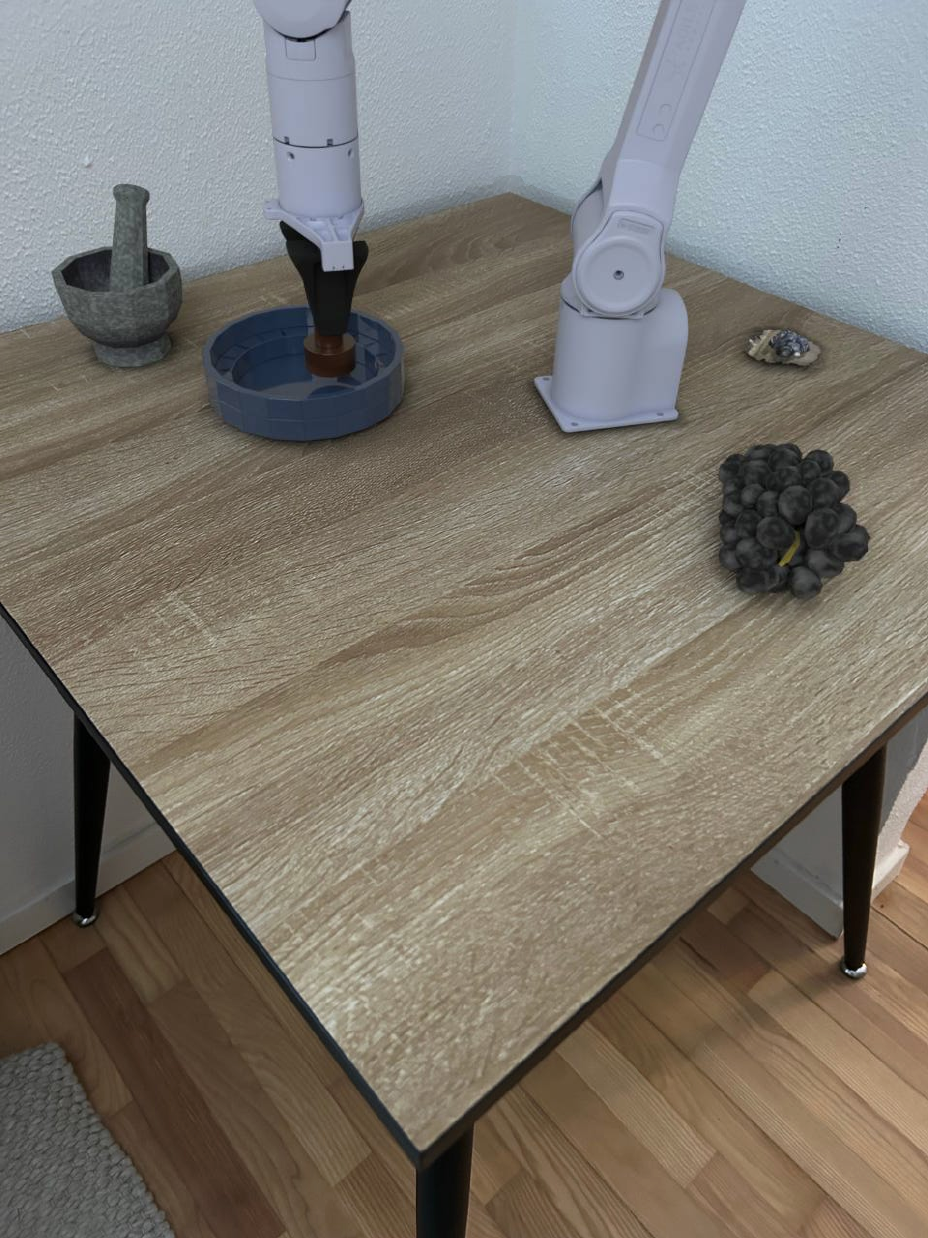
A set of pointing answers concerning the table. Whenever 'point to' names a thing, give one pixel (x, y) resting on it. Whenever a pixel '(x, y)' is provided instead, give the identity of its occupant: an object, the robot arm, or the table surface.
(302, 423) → the bowl
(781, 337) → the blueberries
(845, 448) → the table surface
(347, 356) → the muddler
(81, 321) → the mortar and pestle
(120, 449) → the table surface
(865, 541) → the fruit
